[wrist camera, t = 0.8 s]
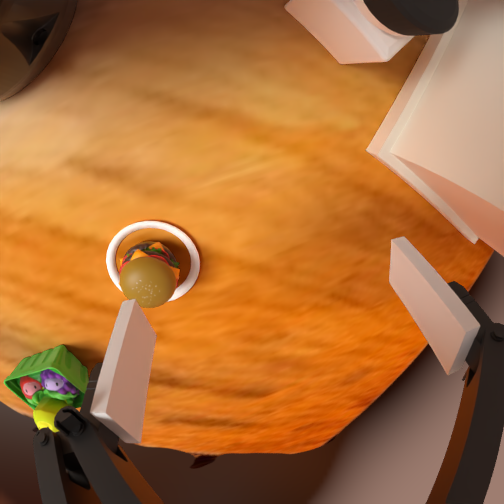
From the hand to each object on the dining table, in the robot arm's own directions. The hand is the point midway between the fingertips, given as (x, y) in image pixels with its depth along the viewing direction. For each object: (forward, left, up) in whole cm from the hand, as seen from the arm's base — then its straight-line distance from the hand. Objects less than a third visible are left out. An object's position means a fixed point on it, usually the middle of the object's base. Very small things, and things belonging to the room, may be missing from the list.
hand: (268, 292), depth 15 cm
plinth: (-4, +29, -13) cm, 32 cm away
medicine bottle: (-15, +12, -13) cm, 23 cm away
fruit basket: (+15, -28, -14) cm, 34 cm away
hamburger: (+4, -9, -14) cm, 17 cm away
